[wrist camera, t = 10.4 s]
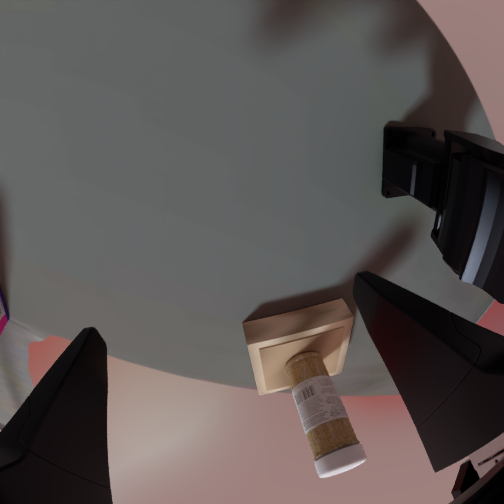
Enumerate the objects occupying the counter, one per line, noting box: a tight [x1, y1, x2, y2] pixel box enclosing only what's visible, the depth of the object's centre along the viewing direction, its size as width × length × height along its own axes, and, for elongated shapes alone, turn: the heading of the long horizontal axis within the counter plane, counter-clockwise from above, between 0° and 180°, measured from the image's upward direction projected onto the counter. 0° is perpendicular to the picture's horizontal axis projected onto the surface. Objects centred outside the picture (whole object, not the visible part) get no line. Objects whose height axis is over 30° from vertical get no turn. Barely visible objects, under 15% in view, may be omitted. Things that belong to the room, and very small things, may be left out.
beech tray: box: [242, 298, 354, 395], centre depth 29 cm, size 11×11×3 cm
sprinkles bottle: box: [284, 352, 367, 478], centre depth 22 cm, size 5×5×14 cm
